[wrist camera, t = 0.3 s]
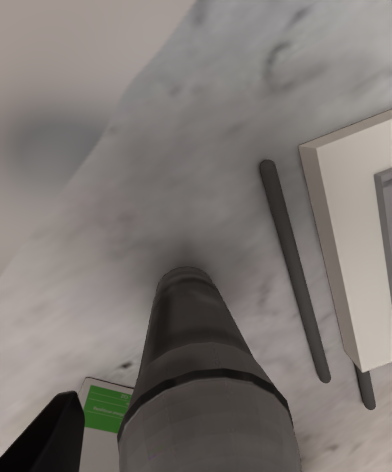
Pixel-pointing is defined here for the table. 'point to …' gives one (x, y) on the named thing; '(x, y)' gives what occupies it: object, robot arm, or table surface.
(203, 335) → the beverage cup
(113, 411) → the skincare box
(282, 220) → the rod
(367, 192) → the breaker switch base
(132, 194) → the table surface
